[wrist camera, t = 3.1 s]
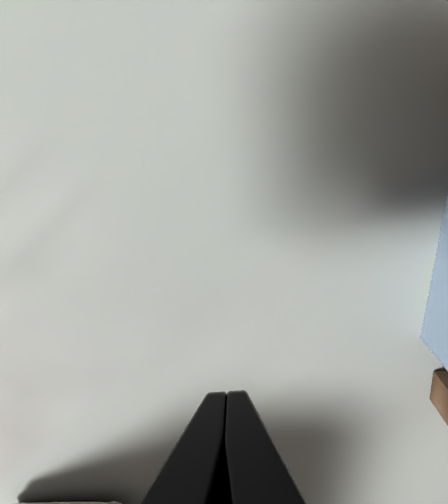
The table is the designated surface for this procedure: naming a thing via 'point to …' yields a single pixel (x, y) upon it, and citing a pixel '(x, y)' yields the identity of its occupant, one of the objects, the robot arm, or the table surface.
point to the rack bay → (440, 393)
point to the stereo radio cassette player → (73, 503)
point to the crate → (438, 300)
